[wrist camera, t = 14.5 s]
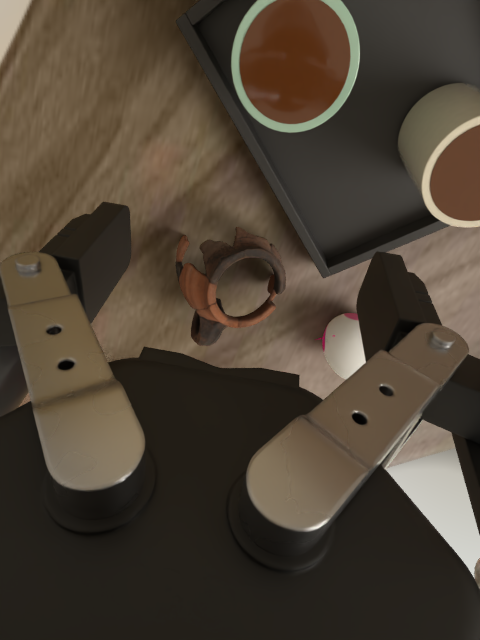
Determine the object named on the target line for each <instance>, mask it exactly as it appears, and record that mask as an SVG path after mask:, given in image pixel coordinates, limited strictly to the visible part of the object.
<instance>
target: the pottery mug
mask: <svg viewBox="0 0 480 640" xmlns="http://www.w3.org/2000/svg"><path fill="white" fill-rule="evenodd" d="M188 246H189V241H188V240H187V236H186V235H184V236H182V238H181V240H180V242H179V244H178V248H177V254H176V272H177V276H178V281H179V284H180V288H181V291H182V292H183V295H184V297H185V299H186V300H187V302H188V303H189V305H190V306H191V307H192V308H194V309H196V311H195V314H194V317H193V321H192V327H191V337H192V339H193V340H194V341H195V342H196V343H197V344H198V345H200V346H203V345H205V346H209V345H212V344H214V343H215V342H216V341H217V340H218V339H219V337H220V335H221V333H222V331H223V330H224V329H225V328H226V327H228V326H229V327H234V328H241V327H247V326H251V325H254V324H257V323H259V322H260V321H262V320H264V319H265V318H266V317H268V316H269V315H270V314H271V313H272V312H273V311H274V309H275V308H276V306H275V304H274V303H273V302H272V301H273V299H274V297H275V296H276V294H281V293H282V292H283V291H284V290H285V287H286V277H285V270H284V268H283V265H282V261H281V258H280V255H279V253H278V251H277V249H276V248H275V246H274V245H273V244H269V242H268V241H267V240H266V239H264V238H262V237H258V236H255V235H252V234H250V233H248V232H246V231H245V230H243V229H241V228H239V227H236V236H235V241H234V245H233V247H231V246H230V245H229V244H227V243H225V242H221V241H217V242H214V241H212V240H207V241H205V242H204V243H202V244H201V245H200V250H201V251H202V253H203V254H204V255H203V259H204V263H205V269H206V274H203V273H201V272H200V271H199V270H197V269H196V268H195V266H194V265H193V264H191V263H186V264H184V267H183V266H182V260H183V257H184V254H185V252H186V250H187V248H188ZM244 258H260V259H263V260H265V261H267V262H268V263H269V264H270V266H271V267H272V269H273V272H274V275H271V277H270V280H269V283H268V292H269V293H270V296H269V297H268V299H267V300H266V301H265V302H264V304H262V305H261V306H260V307H259V308H258V309H257V310H255V311H254V312H252V313H250V314H248V315H245V316H240V317H233V316H229V315H226V314H225V312H224V310H223V307H222V304H221V300H220V299H217V298H216V288H217V283H218V281H219V279H220V277H221V276H222V274H223V273H224V272H225V271H226V270H227V269H228V268H229V267H230V266H231V265H232V264H234V263H235V262H237V261H239V260H242V259H244Z"/></svg>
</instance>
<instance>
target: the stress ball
mask: <svg viewBox="0 0 480 640" xmlns="http://www.w3.org/2000/svg"><path fill="white" fill-rule="evenodd" d="M319 339H323V342H322V344H323V352H324V355H325V358H326V360H327V362H328V364H329V365H330V367H331V368H332V369H333V371H334V372H335V373H336V374H338V375H339V376H340V377H342V378H343V379H345V380H347V379H348V378H349V377H350V376H351V375H352V374H353V373H354V372H356V371H357V370H358V369H359V368H360V367H361V366H362V365H363V364H365V363H366V361H365V355H364V349H363V343H362V338H361V332H360V326H359V321H358V315H357V314H356V313H345V314H341V315H339V316H337V317H335V318H334V319H333V320H331V321H330V323H329V324H328V325H327V327H326V329H325V331H324V334H323V338H319ZM315 340H316V339H315Z"/></svg>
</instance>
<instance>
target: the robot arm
mask: <svg viewBox="0 0 480 640" xmlns="http://www.w3.org/2000/svg"><path fill="white" fill-rule="evenodd" d="M130 258H131V230H130V211H129V208H128V206H125V205H120V204H114V203H108V202H103V203H101V205H100V206H99V207H98V208H97V209H96V210H95V211H94V212H93V213H92V214H91V215H90V214H84V215H82V216H79V217H77V218H75V219H72V220H71V221H70V222H69V223H68V224H67V225H66V226H65V227H64V229H62V230H61V231H60V232H59V233H58V235H56V236H55V237H54V238H53V239H51V240H50V241H49V242H48V243H47V244H46V245H45V246H44V247H43V248H42V249H41V250H40V251H39V252H24V253H19V254H15V255H12V256H10V257H8V258H6V259H5V260H3V261H2V262H1V264H0V640H480V558H479V559H478V561H477V563H476V566H475V573H474V574H475V579H474V577H473V576H472V574H471V572H470V571H469V569H468V568H467V566H466V565H465V564H464V562H463V561H462V560H461V558H460V557H459V556H458V555H457V553H456V552H455V551H454V550H453V549H452V547H450V545H449V544H448V543H447V542H446V541H445V539H444V538H443V537H442V536H441V535H440V533H439V532H438V531H437V530H436V529H435V527H434V526H433V525H432V524H431V523H430V522H429V520H428V519H427V518H426V517H425V516H424V515H423V514H422V512H421V511H420V510H419V509H418V507H417V506H416V505H415V504H414V503H413V502H412V501H411V499H410V498H409V497H408V496H407V494H406V493H405V492H404V491H403V490H402V489H401V487H400V486H399V485H398V484H397V483H396V482H395V480H394V479H393V478H392V477H391V476H390V474H389V473H388V472H387V471H386V469H387V467H388V466H389V464H390V463H391V462H392V460H393V459H394V458H395V456H396V455H397V454H398V452H399V451H400V450H401V449H402V447H403V446H404V445H405V443H406V442H407V441H408V440H409V438H410V437H411V436H412V434H413V433H414V432H415V431H416V429H417V428H418V427H419V425H420V424H421V423H422V421H423V420H425V421H427V422H429V423H432V424H434V425H436V426H438V427H441V428H443V429H445V430H448V431H450V432H452V436H453V440H454V443H455V447H456V451H457V454H458V458H459V462H460V465H461V469H462V472H463V476H464V480H465V483H466V487H467V490H468V494H469V497H470V501H471V505H472V509H473V512H474V516H475V519H476V523H477V527H478V530H479V534H480V359H478V358H475V357H473V356H471V355H469V354H468V353H469V348H468V345H467V343H466V342H465V340H464V339H463V338H462V337H461V336H460V335H459V334H457V333H456V332H454V331H453V330H451V329H449V328H447V327H444V326H442V324H441V322H440V319H439V317H438V315H437V312H436V310H435V308H434V305H433V304H431V303H432V301H431V298H430V296H429V295H428V291H427V289H426V287H425V284H424V283H423V282H422V281H421V280H420V279H419V278H418V277H417V276H416V275H415V274H414V273H410V272H407V269H406V267H405V264H404V261H403V259H402V257H401V255H396V254H390V253H385V252H379V251H377V252H376V253H375V254H374V256H373V258H372V260H371V263H370V265H369V268H368V270H367V273H366V276H365V278H364V281H363V283H362V286H361V288H360V291H359V294H358V298H357V315H358V321H359V326H360V332H361V338H362V343H363V349H364V355H365V361H366V363H365V364H363V365H362V366H361V367H360V368H359V369H358V370H357V371H356V372H354V373H353V374H352V375H351V376H350V377H349V378H348V379H347V380H345V381H344V382H343V383H342V384H341V385H340V386H339V387H338V388H336V389H335V390H334V391H333V392H332V393H331V394H330V395H329V396H328V397H326V398H325V399H324V400H322V399H321V398H320V397H318V396H316V395H315V394H313V393H311V392H309V391H307V390H306V389H303V388H301V387H299V375H297V374H291V373H286V372H280V371H275V370H269V369H264V368H218V367H215V366H212V365H210V364H207V363H205V362H202V361H200V360H197V359H194V358H192V357H189V356H187V355H184V354H181V353H176V352H170V351H165V350H159V349H154V348H148V347H144V348H143V350H142V352H141V354H140V357H139V358H127V359H121V360H116V361H112V362H109V363H108V362H107V360H106V357H105V355H104V353H103V351H102V349H101V346H100V344H99V342H98V340H97V337H96V335H95V333H94V331H93V329H92V326H91V323H92V321H93V320H94V318H95V317H96V315H97V314H98V312H99V311H100V309H101V307H102V306H103V304H104V303H105V301H106V300H107V298H108V297H109V295H110V294H111V292H112V291H113V289H114V287H115V286H116V284H117V283H118V281H119V280H120V278H121V277H122V275H123V274H124V272H125V271H126V269H127V267H128V265H129V262H130ZM28 392H29V395H30V399H31V401H30V402H28V403H26V404H24V405H22V406H20V407H19V405H20V404H21V402H22V401H23V399H24V398H25V397H26V395H27V394H28Z"/></svg>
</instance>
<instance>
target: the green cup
mask: <svg viewBox="0 0 480 640" xmlns="http://www.w3.org/2000/svg"><path fill="white" fill-rule="evenodd" d="M359 61H360V43H359V36H358V32H357V28H356V25H355V23H354V20H353V18H352V16H351V14H350V12H349V10H348V9H347V7H346V6H345V5H344V4H343V2H342V1H341V0H257V1H256V2H255V3H254V4H253V5H252V6H251V7H250V9H249V10H248V11H247V13H246V14H245V16H244V17H243V19H242V21H241V23H240V25H239V27H238V30H237V32H236V35H235V39H234V42H233V47H232V53H231V71H232V78H233V83H234V86H235V90H236V92H237V95H238V97H239V99H240V101H241V103H242V104H243V106H244V107H245V109H246V110H247V111H248V113H249V114H250V115H251V116H252V117H253V118H254V119H256V120H257V121H258V122H259V123H261V124H263V125H264V126H266V127H268V128H271V129H273V130H276V131H280V132H288V133H294V132H302V131H306V130H310V129H312V128H315V127H317V126H319V125H321V124H322V123H324V122H325V121H327V120H328V119H329V118H331V117H332V116H333V115H334V114H335V113H336V112H337V111H338V110H339V109H340V108H341V106H342V105H343V104H344V102H345V101H346V99H347V98H348V96H349V94H350V92H351V90H352V88H353V86H354V83H355V80H356V77H357V73H358V68H359Z"/></svg>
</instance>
